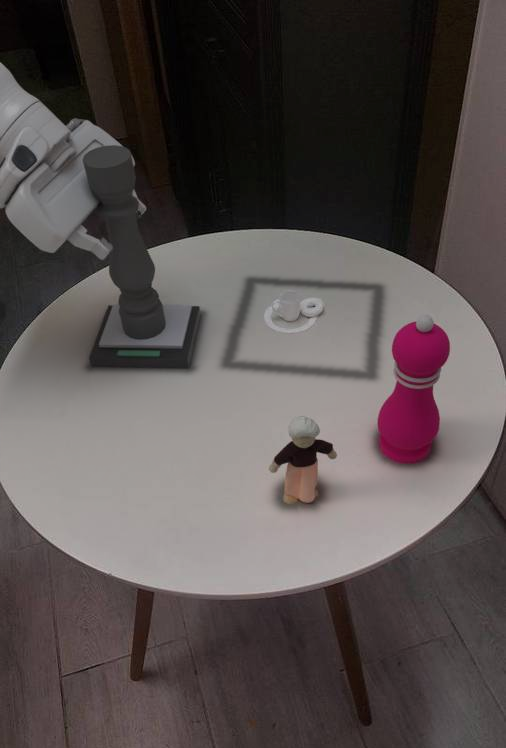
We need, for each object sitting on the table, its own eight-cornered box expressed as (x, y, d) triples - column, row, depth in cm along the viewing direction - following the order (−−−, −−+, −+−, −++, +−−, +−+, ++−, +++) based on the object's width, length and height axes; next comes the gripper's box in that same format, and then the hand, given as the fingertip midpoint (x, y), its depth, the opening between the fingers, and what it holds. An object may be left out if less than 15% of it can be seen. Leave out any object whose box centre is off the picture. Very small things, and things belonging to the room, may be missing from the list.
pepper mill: (362, 447, 85) (375, 317, 70) (400, 416, 88) (419, 286, 73) (408, 478, 81) (432, 349, 66) (446, 446, 84) (477, 315, 69)
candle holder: (134, 345, 96) (93, 174, 77) (116, 323, 100) (72, 154, 81) (173, 328, 98) (142, 158, 79) (153, 307, 101) (119, 139, 83)
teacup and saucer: (325, 304, 104) (326, 281, 101) (319, 337, 99) (319, 315, 96) (268, 300, 105) (267, 278, 102) (259, 333, 100) (258, 311, 97)
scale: (92, 369, 97) (87, 354, 95) (111, 316, 105) (107, 301, 103) (189, 371, 96) (186, 356, 94) (201, 317, 104) (198, 302, 102)
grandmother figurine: (282, 518, 78) (278, 445, 69) (268, 494, 81) (262, 420, 71) (341, 494, 80) (345, 419, 71) (325, 472, 83) (328, 396, 73)
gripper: (68, 128, 90) (148, 206, 95) (-21, 207, 78) (75, 291, 83) (90, 96, 86) (172, 179, 91) (-2, 173, 73) (99, 265, 78)
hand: (125, 234), depth 87 cm, fingers open, 8 cm apart
